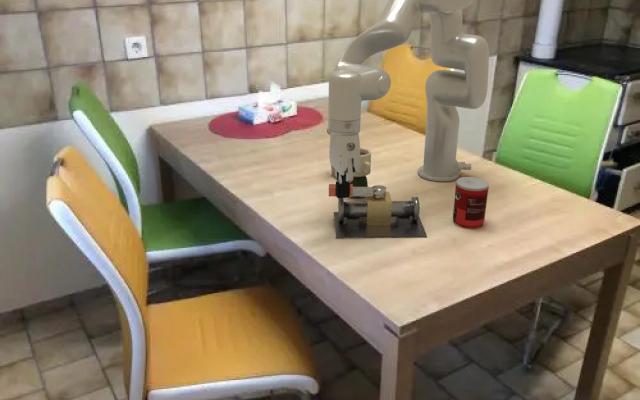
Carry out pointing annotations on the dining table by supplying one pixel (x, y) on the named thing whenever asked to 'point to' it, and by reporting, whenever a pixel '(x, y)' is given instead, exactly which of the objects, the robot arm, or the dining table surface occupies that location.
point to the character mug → (362, 169)
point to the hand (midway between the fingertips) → (342, 196)
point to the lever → (362, 191)
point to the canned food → (470, 202)
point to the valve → (378, 218)
